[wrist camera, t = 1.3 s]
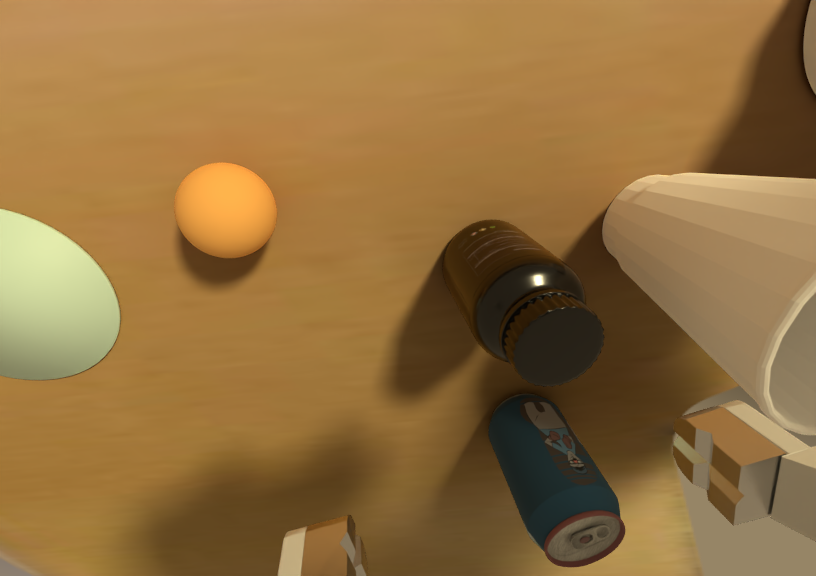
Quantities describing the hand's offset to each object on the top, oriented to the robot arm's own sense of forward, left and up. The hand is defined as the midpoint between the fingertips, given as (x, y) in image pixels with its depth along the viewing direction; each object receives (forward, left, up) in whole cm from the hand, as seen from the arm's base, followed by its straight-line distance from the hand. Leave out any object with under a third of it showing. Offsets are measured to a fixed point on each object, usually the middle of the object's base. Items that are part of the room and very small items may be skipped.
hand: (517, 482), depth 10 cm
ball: (+4, -10, -18) cm, 21 cm away
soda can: (+10, +20, -21) cm, 31 cm away
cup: (-10, +16, -21) cm, 28 cm away
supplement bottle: (-1, +7, -21) cm, 22 cm away
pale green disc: (+18, -20, -21) cm, 34 cm away
